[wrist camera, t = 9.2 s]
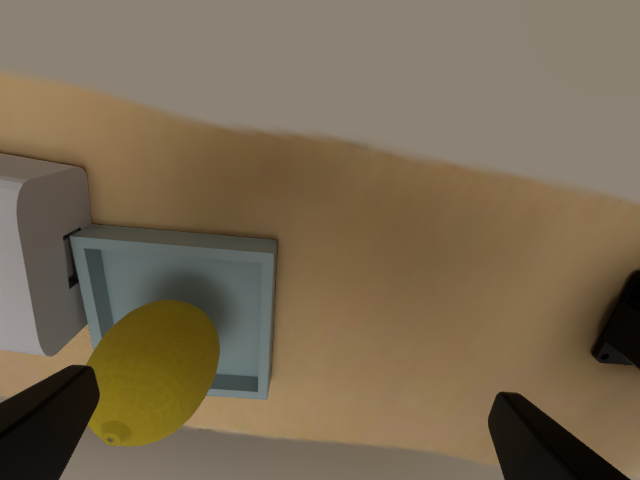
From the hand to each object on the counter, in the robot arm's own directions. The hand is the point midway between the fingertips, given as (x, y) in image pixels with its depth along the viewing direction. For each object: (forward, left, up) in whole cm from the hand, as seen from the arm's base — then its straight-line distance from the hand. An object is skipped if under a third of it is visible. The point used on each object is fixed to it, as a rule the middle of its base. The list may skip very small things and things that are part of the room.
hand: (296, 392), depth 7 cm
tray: (+7, +6, -12) cm, 15 cm away
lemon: (+7, +6, -11) cm, 15 cm away
